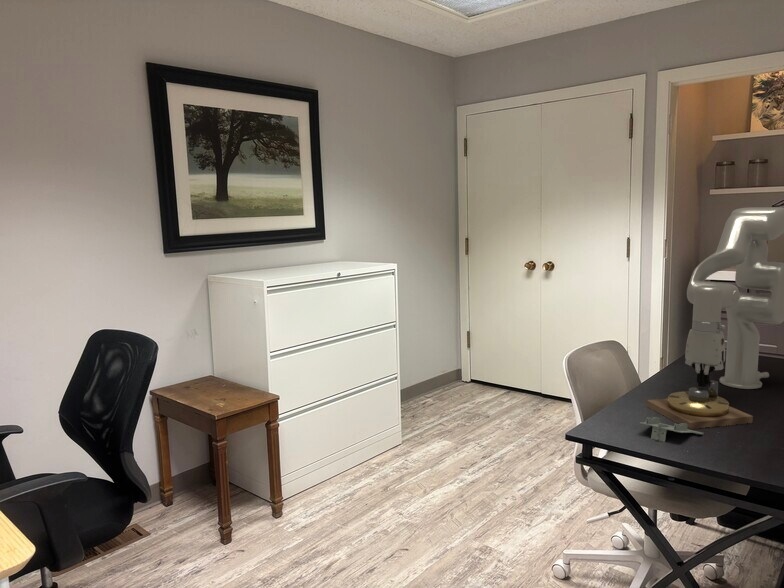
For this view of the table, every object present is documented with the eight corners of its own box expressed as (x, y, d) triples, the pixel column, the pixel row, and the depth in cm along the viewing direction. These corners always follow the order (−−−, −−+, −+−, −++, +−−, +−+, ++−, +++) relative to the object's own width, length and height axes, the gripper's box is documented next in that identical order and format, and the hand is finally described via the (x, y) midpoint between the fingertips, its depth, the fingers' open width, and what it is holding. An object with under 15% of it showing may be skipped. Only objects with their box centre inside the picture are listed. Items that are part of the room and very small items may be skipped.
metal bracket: (689, 427, 154) (631, 413, 164) (685, 449, 154) (628, 435, 164) (706, 427, 164) (650, 414, 175) (703, 448, 164) (648, 434, 174)
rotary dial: (734, 405, 178) (736, 383, 177) (719, 420, 167) (720, 397, 166) (678, 395, 189) (679, 374, 188) (659, 408, 177) (660, 386, 176)
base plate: (703, 400, 190) (703, 394, 189) (752, 422, 170) (752, 415, 170) (646, 406, 186) (646, 399, 186) (690, 429, 166) (690, 422, 166)
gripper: (737, 328, 177) (734, 388, 179) (685, 321, 188) (682, 378, 190) (728, 332, 172) (724, 393, 174) (675, 325, 183) (672, 383, 185)
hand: (702, 385), depth 182 cm, fingers closed
